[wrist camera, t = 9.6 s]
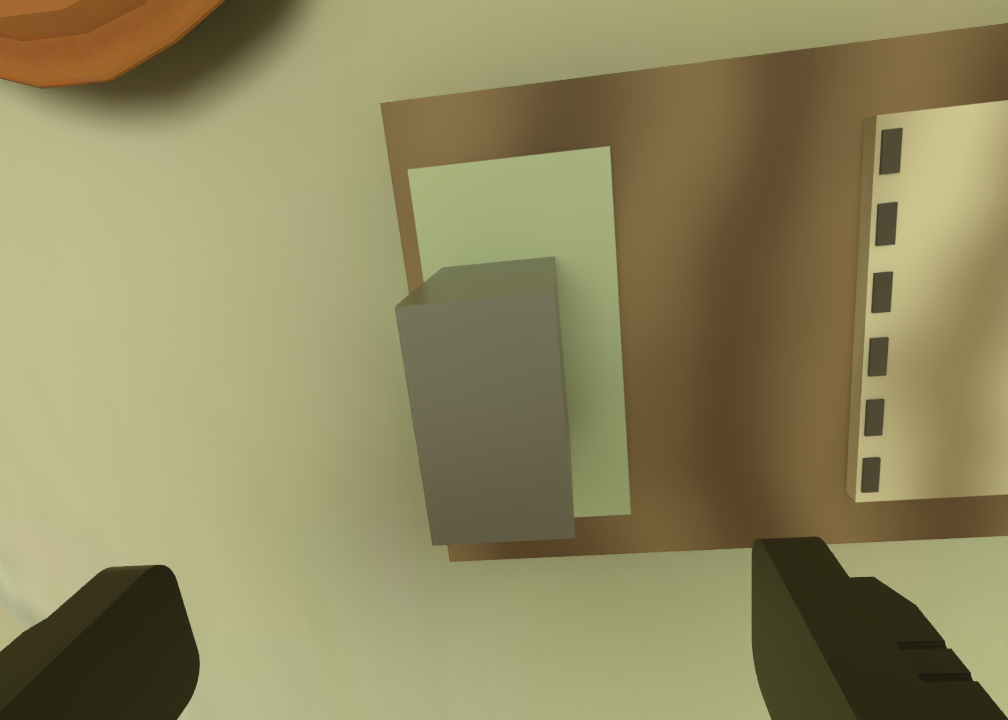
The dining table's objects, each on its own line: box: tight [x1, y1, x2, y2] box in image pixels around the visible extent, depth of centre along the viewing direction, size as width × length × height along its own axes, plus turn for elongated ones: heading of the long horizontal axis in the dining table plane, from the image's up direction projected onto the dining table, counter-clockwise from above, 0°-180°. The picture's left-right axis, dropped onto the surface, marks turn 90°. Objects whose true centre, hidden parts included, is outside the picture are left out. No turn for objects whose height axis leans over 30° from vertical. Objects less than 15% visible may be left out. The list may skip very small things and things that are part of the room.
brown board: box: [380, 23, 1008, 562], centre depth 20 cm, size 22×16×3 cm
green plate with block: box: [395, 146, 631, 545], centre depth 17 cm, size 6×12×6 cm, turn 6°
